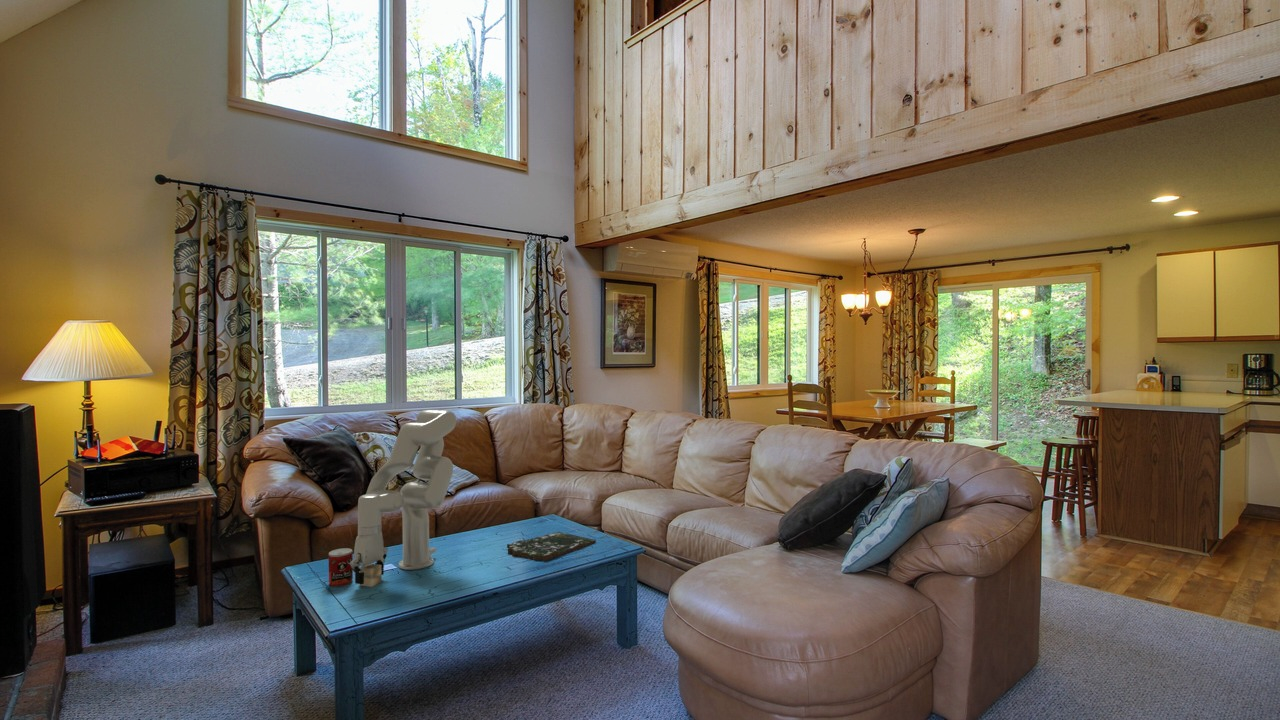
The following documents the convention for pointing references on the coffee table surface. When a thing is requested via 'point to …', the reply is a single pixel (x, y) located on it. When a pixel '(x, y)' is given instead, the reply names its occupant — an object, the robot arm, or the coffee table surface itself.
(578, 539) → the topographical map
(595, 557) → the coffee table surface
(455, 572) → the coffee table surface
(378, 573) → the beech block
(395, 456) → the robot arm
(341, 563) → the canned food
